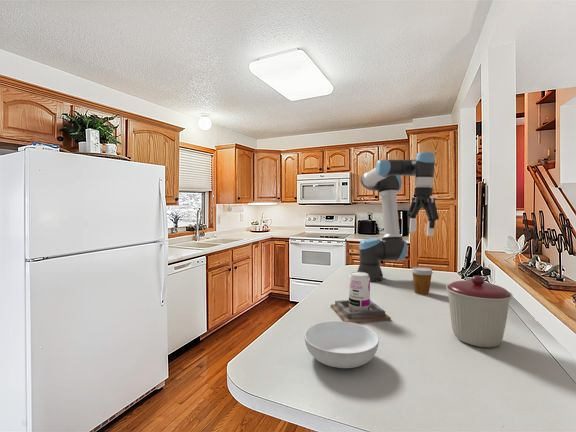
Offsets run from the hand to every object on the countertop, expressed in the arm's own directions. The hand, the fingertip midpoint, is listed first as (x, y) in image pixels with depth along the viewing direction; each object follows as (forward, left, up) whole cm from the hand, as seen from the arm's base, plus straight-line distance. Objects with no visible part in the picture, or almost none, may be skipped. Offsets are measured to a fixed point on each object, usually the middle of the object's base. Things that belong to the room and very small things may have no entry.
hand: (420, 233), depth 137 cm
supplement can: (+12, -34, -29) cm, 47 cm away
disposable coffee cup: (-8, +6, -31) cm, 32 cm away
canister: (+41, -7, -31) cm, 51 cm away
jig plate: (+12, -35, -30) cm, 47 cm away
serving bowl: (+44, -54, -31) cm, 76 cm away
